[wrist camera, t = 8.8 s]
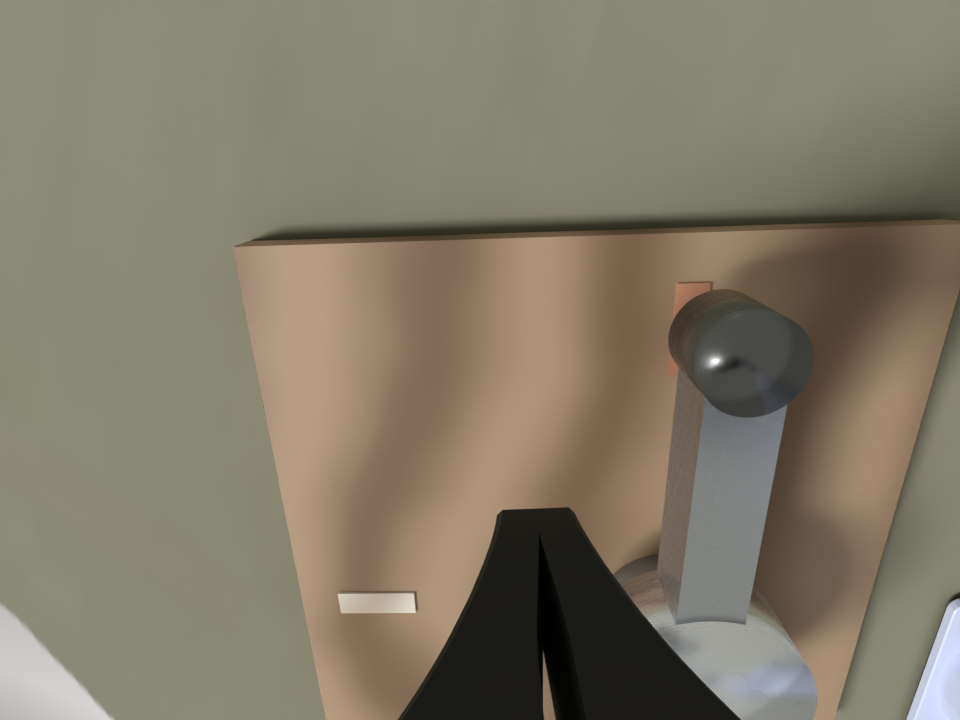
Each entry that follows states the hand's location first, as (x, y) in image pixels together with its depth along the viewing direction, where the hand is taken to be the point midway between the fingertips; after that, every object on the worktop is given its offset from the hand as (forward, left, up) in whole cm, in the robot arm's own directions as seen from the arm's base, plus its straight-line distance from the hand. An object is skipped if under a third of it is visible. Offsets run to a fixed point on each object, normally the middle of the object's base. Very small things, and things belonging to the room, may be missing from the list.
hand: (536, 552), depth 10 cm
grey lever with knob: (-5, +5, -6) cm, 9 cm away
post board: (-2, +6, -9) cm, 12 cm away
